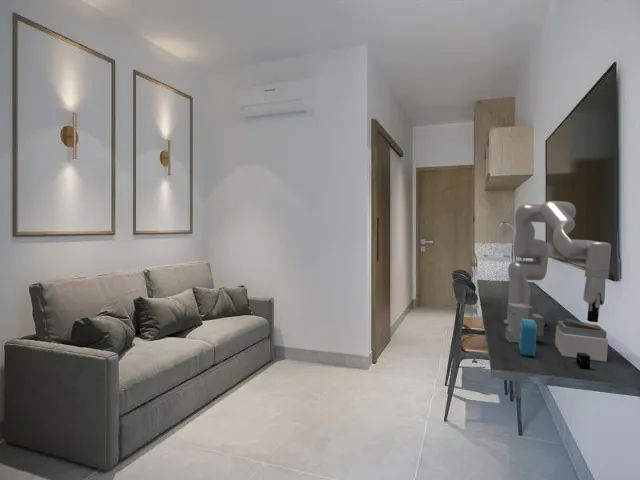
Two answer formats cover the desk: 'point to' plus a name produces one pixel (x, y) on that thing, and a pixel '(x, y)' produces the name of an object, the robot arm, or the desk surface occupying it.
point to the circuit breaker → (515, 317)
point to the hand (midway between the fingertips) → (592, 321)
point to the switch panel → (581, 341)
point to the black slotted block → (583, 361)
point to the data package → (527, 337)
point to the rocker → (580, 324)
